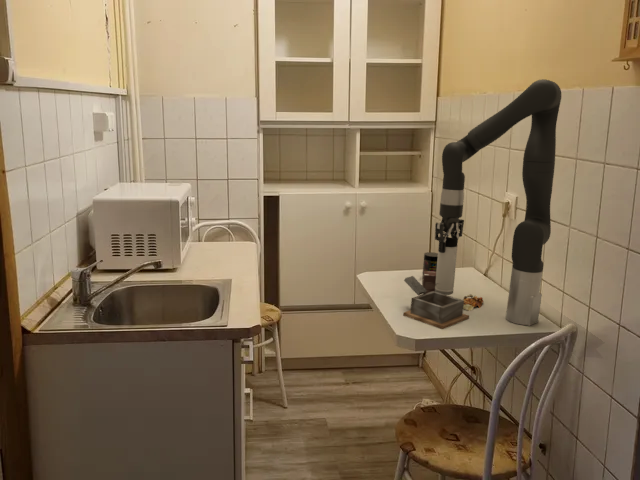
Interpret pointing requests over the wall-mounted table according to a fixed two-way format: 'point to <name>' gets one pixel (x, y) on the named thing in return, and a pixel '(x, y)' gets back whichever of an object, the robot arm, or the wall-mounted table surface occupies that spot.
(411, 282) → the grey rectangular block
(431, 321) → the grey walled square tray
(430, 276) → the box
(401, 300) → the wall-mounted table surface
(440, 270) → the travel mug
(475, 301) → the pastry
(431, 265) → the supplement container
